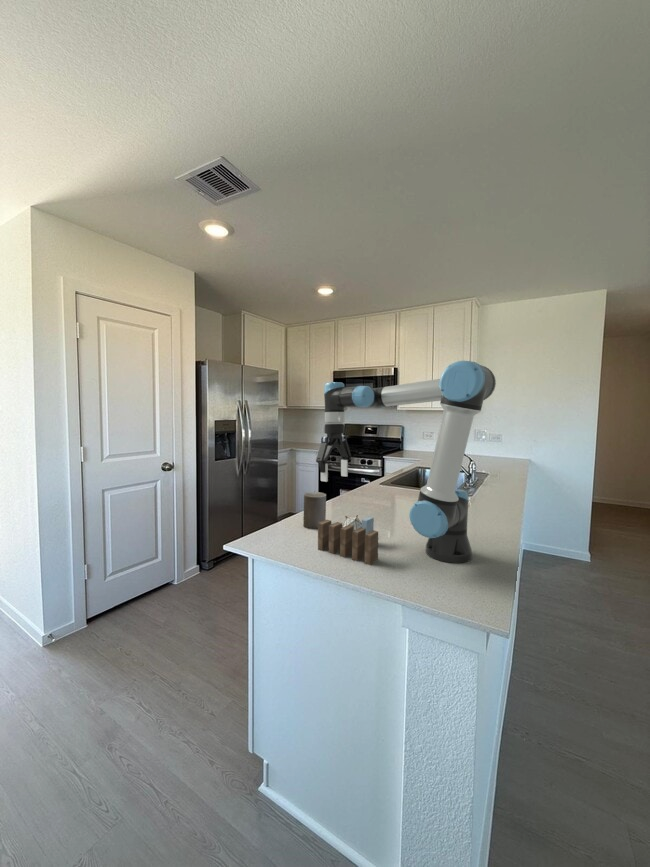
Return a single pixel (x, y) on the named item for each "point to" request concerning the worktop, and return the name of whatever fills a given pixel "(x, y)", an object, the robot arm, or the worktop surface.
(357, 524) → the game die
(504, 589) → the worktop surface
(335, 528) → the domino
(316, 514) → the pillar candle
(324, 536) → the domino
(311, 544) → the worktop surface
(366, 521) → the domino
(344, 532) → the domino
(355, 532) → the domino
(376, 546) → the domino
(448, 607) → the worktop surface
